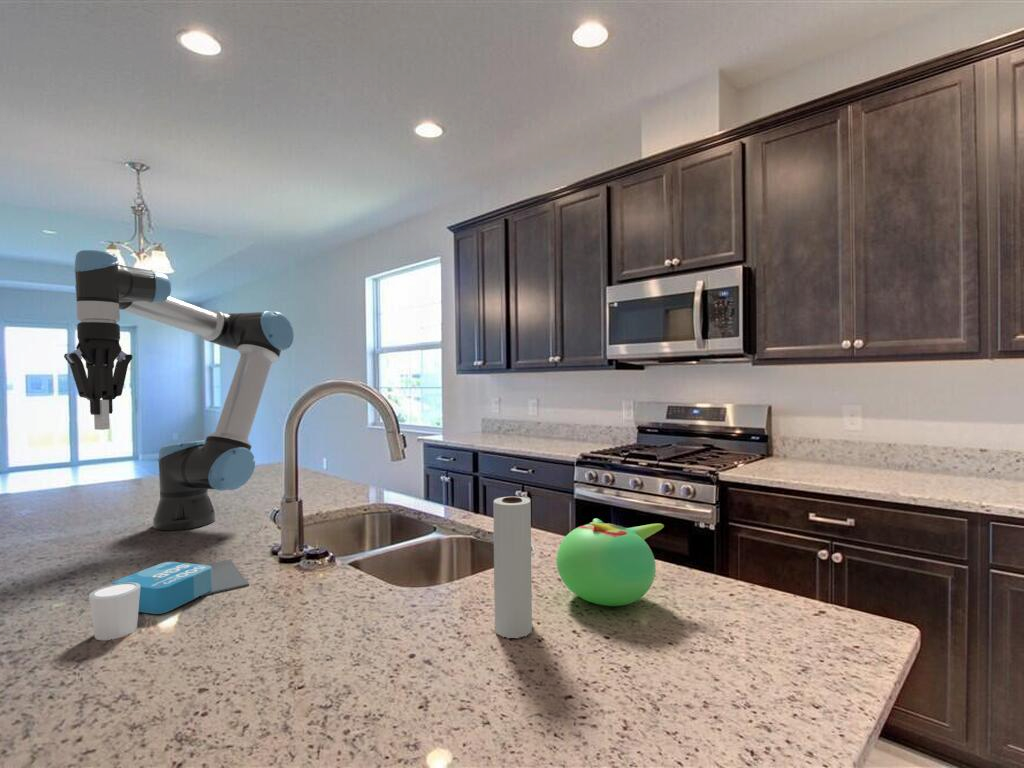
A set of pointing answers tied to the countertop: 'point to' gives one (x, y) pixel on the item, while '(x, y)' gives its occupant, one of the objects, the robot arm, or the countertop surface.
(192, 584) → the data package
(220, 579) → the mat
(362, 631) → the countertop surface
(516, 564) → the paper towel roll
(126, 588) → the white short cylinder
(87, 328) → the robot arm
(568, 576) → the green rounded piece
